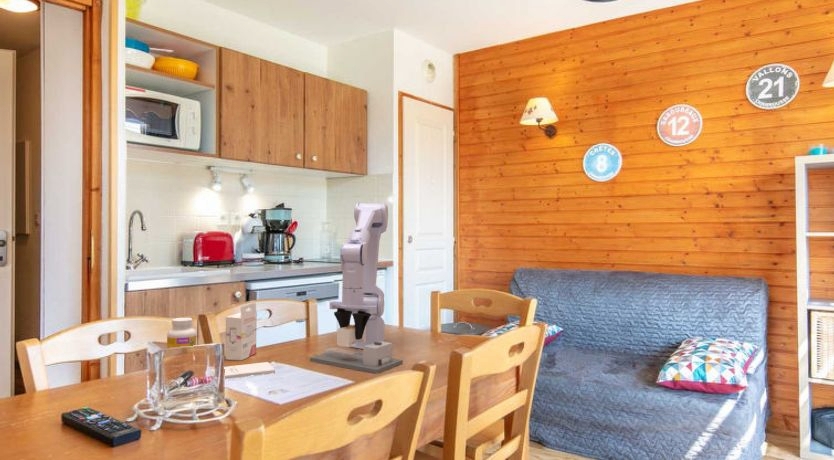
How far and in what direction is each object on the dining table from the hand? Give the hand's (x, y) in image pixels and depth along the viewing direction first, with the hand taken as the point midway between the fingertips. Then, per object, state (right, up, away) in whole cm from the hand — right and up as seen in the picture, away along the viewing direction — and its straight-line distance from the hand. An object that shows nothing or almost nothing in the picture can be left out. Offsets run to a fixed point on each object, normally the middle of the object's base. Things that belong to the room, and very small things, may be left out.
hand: (352, 337), depth 147 cm
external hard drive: (-25, -7, -12) cm, 29 cm away
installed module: (+7, -6, -4) cm, 10 cm away
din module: (0, -2, 0) cm, 2 cm away
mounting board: (+1, -7, -1) cm, 7 cm away
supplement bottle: (-41, -6, -11) cm, 43 cm away
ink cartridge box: (-31, -6, +3) cm, 32 cm away
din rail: (+1, -7, -1) cm, 7 cm away
